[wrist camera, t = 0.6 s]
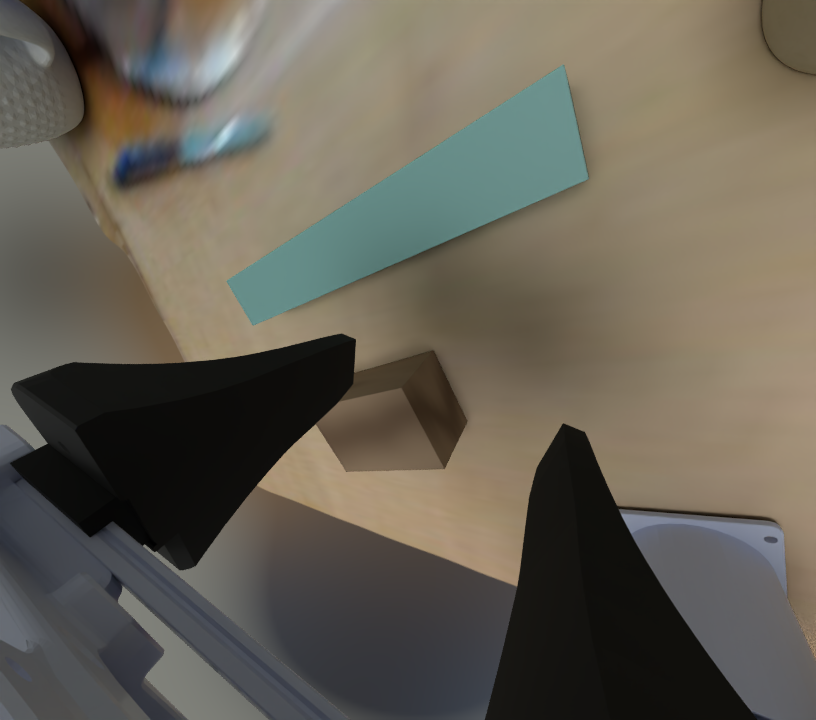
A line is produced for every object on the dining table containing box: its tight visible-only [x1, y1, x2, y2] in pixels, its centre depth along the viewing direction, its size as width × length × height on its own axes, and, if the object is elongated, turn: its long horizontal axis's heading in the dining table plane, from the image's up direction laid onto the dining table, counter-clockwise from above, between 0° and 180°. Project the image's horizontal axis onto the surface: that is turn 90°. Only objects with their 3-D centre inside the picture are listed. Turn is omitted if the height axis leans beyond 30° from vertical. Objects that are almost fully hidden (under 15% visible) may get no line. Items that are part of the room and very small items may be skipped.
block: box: [316, 351, 467, 472], centre depth 23 cm, size 6×9×5 cm, turn 119°
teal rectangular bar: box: [227, 64, 589, 325], centre depth 18 cm, size 4×22×4 cm, turn 116°
